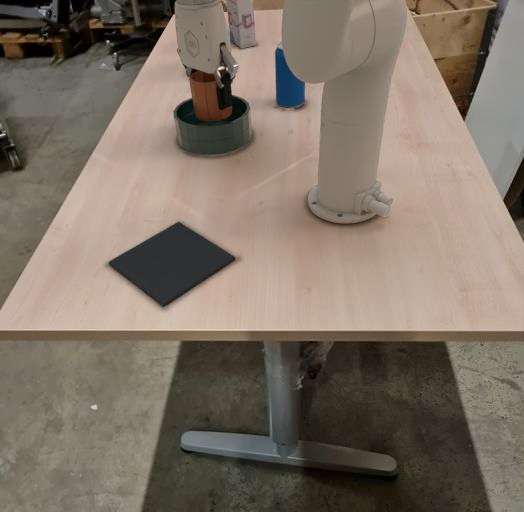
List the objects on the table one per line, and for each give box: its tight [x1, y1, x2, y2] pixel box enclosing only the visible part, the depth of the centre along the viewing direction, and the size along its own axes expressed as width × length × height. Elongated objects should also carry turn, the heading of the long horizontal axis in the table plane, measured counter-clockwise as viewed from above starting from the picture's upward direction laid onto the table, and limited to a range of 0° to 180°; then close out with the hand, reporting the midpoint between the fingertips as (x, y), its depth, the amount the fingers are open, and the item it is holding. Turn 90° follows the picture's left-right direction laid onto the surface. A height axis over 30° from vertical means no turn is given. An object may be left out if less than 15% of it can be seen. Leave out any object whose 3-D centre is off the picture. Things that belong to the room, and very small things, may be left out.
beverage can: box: [274, 41, 306, 109], centre depth 104 cm, size 6×6×12 cm
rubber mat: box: [108, 221, 236, 308], centre depth 74 cm, size 14×14×1 cm
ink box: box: [225, 0, 257, 50], centre depth 132 cm, size 9×5×12 cm, turn 25°
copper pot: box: [188, 71, 232, 122], centre depth 93 cm, size 7×8×7 cm
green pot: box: [172, 94, 253, 156], centre depth 98 cm, size 15×15×6 cm
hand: (212, 101), depth 94 cm, fingers closed on copper pot, 7 cm apart
